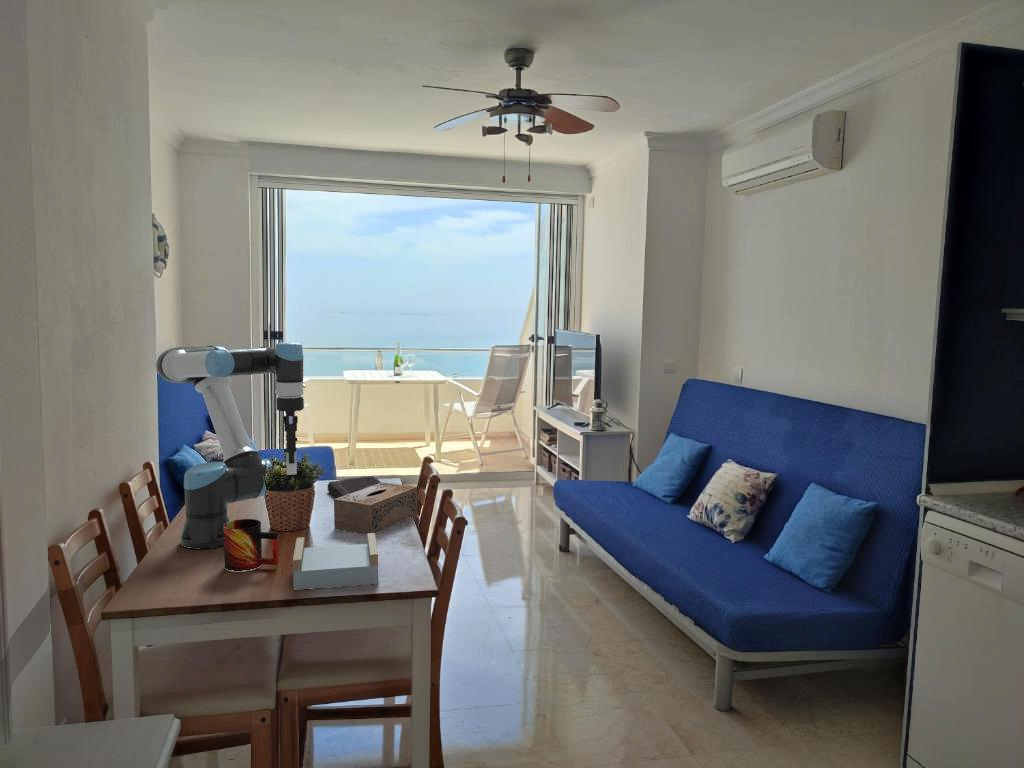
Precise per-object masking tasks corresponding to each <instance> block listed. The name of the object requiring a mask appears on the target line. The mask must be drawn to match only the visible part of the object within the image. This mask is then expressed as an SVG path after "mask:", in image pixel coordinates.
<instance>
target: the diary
mask: <svg viewBox="0 0 1024 768" xmlns="http://www.w3.org/2000/svg"><path fill="white" fill-rule="evenodd" d="M379 483H382V482H381V481H380V480H379V479H378V478H377V477H375V476H373V475H370V476H369V475H368V476H360V477H351V478H350V477H349V478H345V479H341V480H335V481H334V480H333V481H329V482H328V484H327V491H328V493H329V492H330V494H331V496H333V495H334V496H335V497H336V498H339V497H342V496H345V495H347V494H350V493H353V492H356V491H359V490H362V489H364V488H367V487H370V486H373V485H376V484H379ZM334 496H333V497H334ZM335 497H334V498H335ZM336 498H335V499H336Z"/></svg>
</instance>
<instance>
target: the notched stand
mask: <svg viewBox="0 0 1024 768" xmlns="http://www.w3.org/2000/svg"><path fill="white" fill-rule="evenodd" d="M305 540H306V539H305V537H296V541H295V546H294V551H293V557H292V574H293V575H292V578H293V579H292V581H293V582H292V583H293V585H292V586H293V590H294V589H309V588H324V589H328V588H327V587H337V588H343V587H342V586H349V587H358V586H357V585H362V586H371V585H370V584H375V585H379V553H378V545H377V540H376V533H368V535H367V543H360V544H346V545H344V544H343V545H329V546H316V547H315V546H313V547H311V546H310V547H305V545H306V544H305Z"/></svg>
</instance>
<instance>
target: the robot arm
mask: <svg viewBox="0 0 1024 768" xmlns="http://www.w3.org/2000/svg"><path fill="white" fill-rule="evenodd" d="M303 353H304V351H303V345H302V344H301V343H300V342H297V341H294V342H292V341H288V342H286V341H284V342H282V341H281V342H277V343H276V344H275V347H270V346H258V347H254V348H235V349H232V348H231V349H227V348H225V347H223V346H220V345H211V344H210V345H206V346H205V345H204V346H179V347H178V346H176V347H172V348H168V349H166V350H165V351H163V352H161V354H159V356H158V358H157V360H156V365H155V368H156V371H157V374H158V375H159V377H161V378H162V380H163V379H164V381H166V382H169V383H173V384H193V386H194V389H195V391H196V392H197V393H200V394H201V396H202V397H203V400H204V402H205V405H206V408H207V413H208V414H209V418H210V420H211V422H212V426H213V429H214V432H215V435H216V437H217V440H218V442H219V446H220V448H221V452H222V454H223V457H224V459H223V461H212V462H211V461H210V462H203V463H200V464H197V465H194V466H191V467H190V468H188V469H187V470H186V471H185V472H184V477H183V479H184V480H183V488H184V505H185V507H184V508H185V520H184V523H183V526H182V530H181V534H180V537H179V541H180V542H179V544H180V543H181V544H182V545H183V546H186V547H191V548H210V549H212V548H211V547H216V548H218V547H217V546H221V547H223V546H222V545H224V533H223V525H224V524H225V523H227V522H230V521H231V520H230V517H229V514H228V504H232V503H237V502H242V501H247V500H254V499H258V498H260V497H263V496H266V495H265V490H266V485H265V480H264V481H263V476H264V479H265V473H266V471H268V468H269V467H271V466H272V467H273V465H272V462H271V461H270V460H269V459H267V458H262V457H261V454H260V452H259V451H258V450H256V449H253V447H252V445H251V442H250V439H249V436H248V434H247V430H246V428H245V426H244V422H243V420H242V417H241V415H240V412H239V408H238V405H237V403H236V401H235V398H234V396H233V393H232V390H231V389H232V388H231V387H230V384H231V383H232V381H233V377H236V376H249V375H264V374H265V375H266V374H273V375H275V395H276V396H277V398H276V399H275V400H276V403H275V404H276V411H278V412H285V415H282V417H283V418H282V419H283V420H282V421H283V426H284V432H285V433H286V434H285V441H286V442H285V448H284V449H283V453H285V458H286V459H285V460H286V461H285V462H286V475H287V476H289V475H290V476H292V475H293V476H294V475H297V473H298V472H297V471H298V468H297V466H298V465H297V461H298V460H297V448H298V447H297V442H298V437H297V435H296V434H297V433H296V432H297V430H298V419H299V418H298V415H295V413H296V411H297V412H300V411H303V410H304V408H305V407H304V406H305V405H304V403H305V401H304V400H305V399H304V397H303V395H304V389H305V388H306V386H307V385H306V384H304V354H303Z"/></svg>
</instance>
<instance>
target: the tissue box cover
mask: <svg viewBox="0 0 1024 768" xmlns="http://www.w3.org/2000/svg"><path fill="white" fill-rule="evenodd" d="M417 515H418V486H413V485H406V484H405V485H404V484H398V483H391V482H383V481H382V482H381V483H379V484H376V485H373V486H370V487H367V488H364V489H362V490H359V491H356V492H353V493H350V494H347V495H345V496H342V497H339V498H333V518H334V519H333V521H334V522H333V524H334V530H338V529H339V531H343V530H345V532H350V533H354V532H356V534H360V533H361V535H366V534H367V535H366V536H368V533H375V534H378V533H379V531H380V532H382V531H384V530H387V529H389V528H391V527H392V526H393V527H394V526H395V525H397V523H398V524H400V523H401V522H404V521H407V520H408V518H409V519H411V518H414V517H416V516H417ZM410 517H411V518H410ZM406 519H407V520H406ZM399 522H400V523H399ZM390 526H391V527H390ZM388 527H389V528H388ZM386 528H387V529H386ZM381 530H382V531H381ZM377 532H378V533H377Z"/></svg>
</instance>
